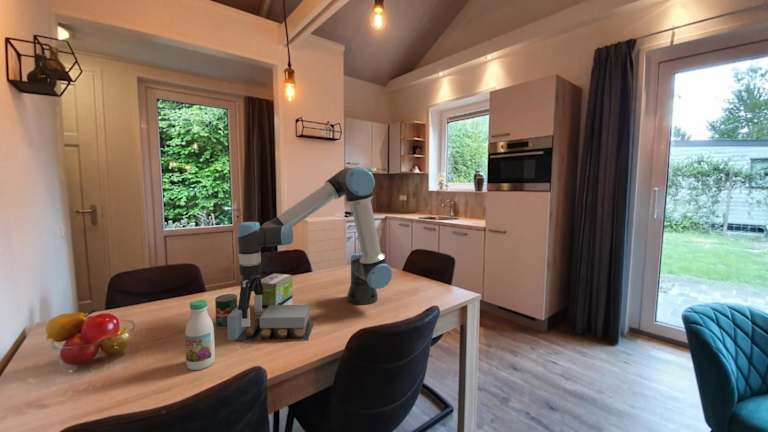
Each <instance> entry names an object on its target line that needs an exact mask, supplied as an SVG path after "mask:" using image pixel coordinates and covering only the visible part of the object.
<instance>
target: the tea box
mask: <svg viewBox="0 0 768 432" xmlns="http://www.w3.org/2000/svg"><path fill="white" fill-rule="evenodd" d="M293 279H294V278H293V275H292V274H284V273H272V274H270V275H268V276H266V277H264V278H261V282H262V286H263V291H262V292H264V294H261V295H262V311H255V310H254V313H255V316H258V317H261V315H262V314H263V313H264V311H265V310H266V309H267V308H268V306H269V305H293Z"/></svg>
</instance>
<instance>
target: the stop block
mask: <svg viewBox="0 0 768 432" xmlns="http://www.w3.org/2000/svg"><path fill="white" fill-rule="evenodd" d="M250 302H251V301H250ZM250 302H249V307H248V308H251V307H250ZM245 328H246V327H242V320H241V310H238V305H237V307H236V308H235V309H234V310H233V311H232V312H231V313H230V314H229V315H228V316H227V328H226V329H227V341H229V342H231V341H234V340H235V339H237V338H238V337H239V336H240V334H241V333H242V332H243V331H244V330H245Z"/></svg>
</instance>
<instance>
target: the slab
mask: <svg viewBox="0 0 768 432" xmlns="http://www.w3.org/2000/svg"><path fill="white" fill-rule="evenodd" d="M259 317H260V328H305V326H306V323H307V321H308V318H309V317H311V305H310V304H292V305H269V306H268V308H267V309H266V310H265V311H264V313H263V314H262V315H261V316H259Z"/></svg>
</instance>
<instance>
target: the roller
mask: <svg viewBox="0 0 768 432" xmlns="http://www.w3.org/2000/svg"><path fill="white" fill-rule="evenodd" d="M260 317H261V316H256V317H255V318H254V319H253V320H252V321H251V322H252V323H251V324H250V327H248V328H247V329H246V330H245V335H246V336H248V337H250V336H252V335H253V334H254V333H255V331H256V330H257V329H258V327H259V326H260Z"/></svg>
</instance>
